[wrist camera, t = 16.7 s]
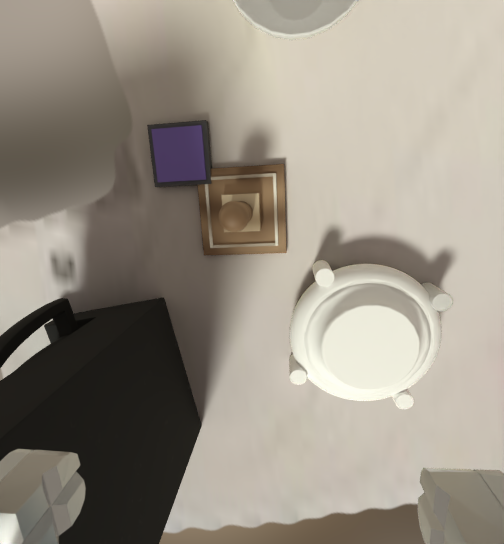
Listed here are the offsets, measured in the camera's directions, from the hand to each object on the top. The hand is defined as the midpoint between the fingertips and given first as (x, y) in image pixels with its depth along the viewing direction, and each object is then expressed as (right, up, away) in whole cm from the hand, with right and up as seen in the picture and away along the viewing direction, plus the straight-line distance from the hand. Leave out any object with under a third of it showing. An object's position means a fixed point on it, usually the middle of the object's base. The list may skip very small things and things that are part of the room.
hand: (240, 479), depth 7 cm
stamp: (-1, +13, +36) cm, 39 cm away
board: (-1, +13, +37) cm, 40 cm away
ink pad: (-9, +21, +36) cm, 43 cm away
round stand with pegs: (+16, -3, +40) cm, 44 cm away
